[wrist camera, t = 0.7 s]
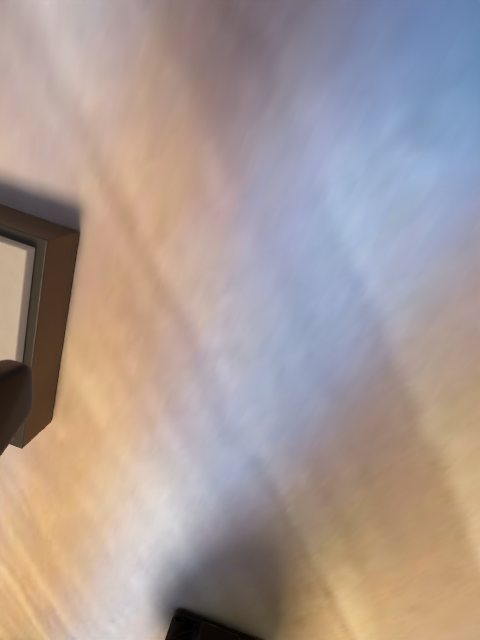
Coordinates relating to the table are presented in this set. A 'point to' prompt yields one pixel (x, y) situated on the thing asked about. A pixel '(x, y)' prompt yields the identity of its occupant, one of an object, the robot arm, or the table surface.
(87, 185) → the table surface
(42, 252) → the kitchen scale
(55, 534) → the table surface
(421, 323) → the table surface
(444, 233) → the table surface
